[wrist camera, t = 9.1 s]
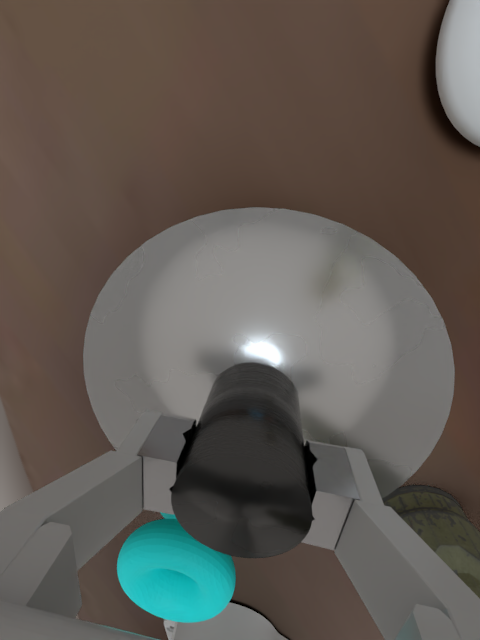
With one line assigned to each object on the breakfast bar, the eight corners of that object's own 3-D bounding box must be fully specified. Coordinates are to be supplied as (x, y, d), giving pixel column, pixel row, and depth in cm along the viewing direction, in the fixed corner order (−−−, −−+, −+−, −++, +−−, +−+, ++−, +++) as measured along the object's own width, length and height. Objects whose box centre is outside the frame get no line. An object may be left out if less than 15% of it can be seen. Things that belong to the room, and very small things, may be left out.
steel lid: (375, 524, 13) (435, 709, 8) (110, 471, 14) (21, 606, 9) (499, 235, 8) (816, 258, 3) (89, 187, 9) (-115, 152, 4)
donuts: (215, 552, 19) (244, 634, 22) (235, 443, 28) (254, 512, 32) (90, 551, 21) (133, 627, 24) (148, 449, 30) (173, 513, 33)
